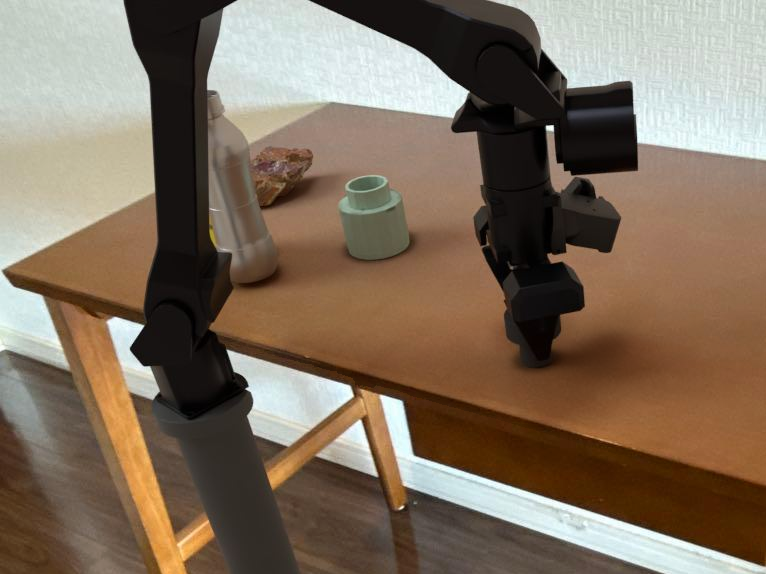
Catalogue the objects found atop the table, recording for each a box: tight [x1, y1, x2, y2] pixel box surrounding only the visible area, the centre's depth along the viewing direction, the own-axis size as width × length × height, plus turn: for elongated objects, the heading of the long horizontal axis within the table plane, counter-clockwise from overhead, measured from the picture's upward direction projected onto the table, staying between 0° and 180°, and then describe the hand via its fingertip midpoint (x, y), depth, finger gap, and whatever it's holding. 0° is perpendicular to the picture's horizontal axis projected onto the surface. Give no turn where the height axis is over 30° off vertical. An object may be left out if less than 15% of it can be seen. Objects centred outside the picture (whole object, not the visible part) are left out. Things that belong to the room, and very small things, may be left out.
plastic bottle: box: [207, 89, 279, 284], centre depth 110 cm, size 6×7×20 cm
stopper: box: [503, 308, 562, 369], centre depth 95 cm, size 5×5×5 cm
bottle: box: [337, 174, 411, 261], centre depth 117 cm, size 7×7×8 cm
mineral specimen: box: [250, 145, 314, 207], centre depth 133 cm, size 12×8×7 cm
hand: (534, 340), depth 96 cm, fingers open, 7 cm apart
